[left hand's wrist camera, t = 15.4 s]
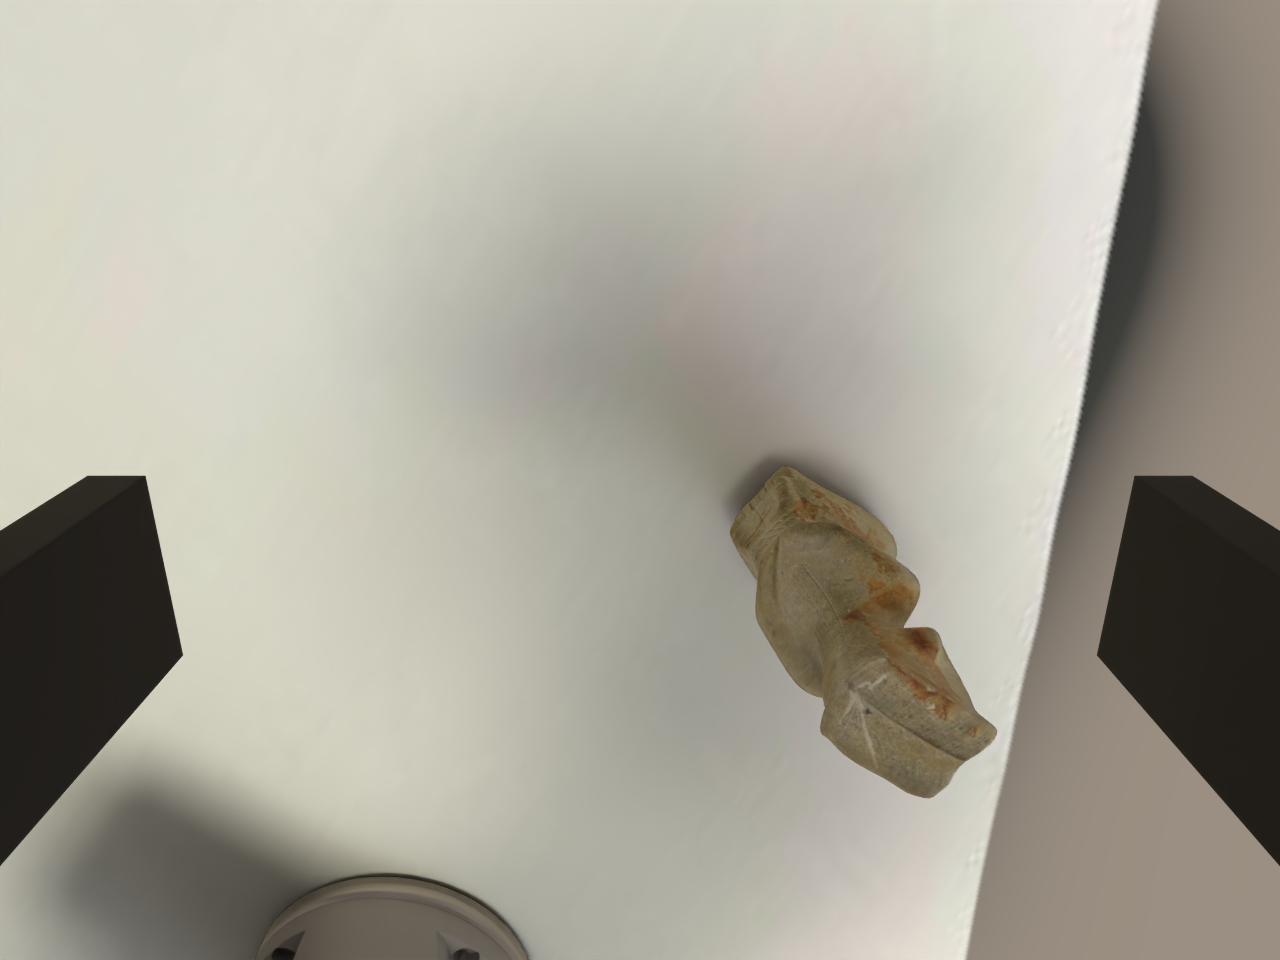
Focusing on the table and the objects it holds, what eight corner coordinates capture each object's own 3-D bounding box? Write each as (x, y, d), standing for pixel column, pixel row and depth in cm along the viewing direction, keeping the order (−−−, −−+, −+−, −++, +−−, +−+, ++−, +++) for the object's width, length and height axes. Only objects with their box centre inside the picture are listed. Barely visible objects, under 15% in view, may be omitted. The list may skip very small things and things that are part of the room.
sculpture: (817, 612, 42) (905, 850, 28) (701, 520, 41) (734, 725, 27) (908, 524, 41) (1048, 732, 27) (792, 425, 39) (877, 591, 25)
